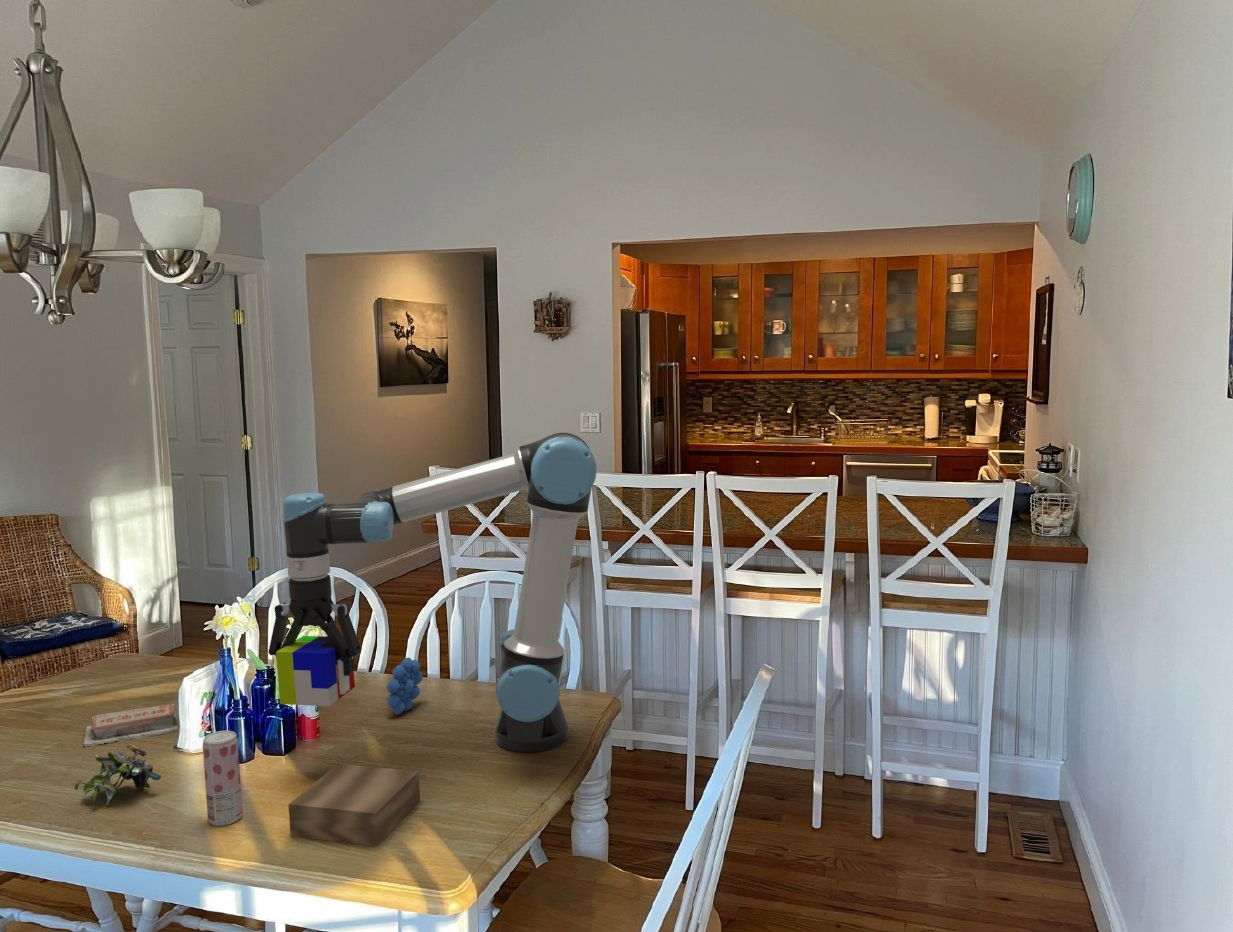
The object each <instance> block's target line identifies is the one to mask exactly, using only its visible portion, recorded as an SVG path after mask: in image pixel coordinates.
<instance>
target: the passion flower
mask: <svg viewBox="0 0 1233 932" xmlns="http://www.w3.org/2000/svg"><path fill="white" fill-rule="evenodd" d="M126 748H127V749H129V750H131V751H132V752H133V753H134V754H133V756H130V755H129V756H127V755H126V754H124V753H123V752H120V751H116V750H109V751H108V752H107V754H106V756H107V757H103V756H99V755H98V754H95V755H94V757H95V760H96V761H97V762H99V763H101V766H100V771H99V774H95V775H94V776H92V777H91V779H90V780H89V781H87V782H82V781H83V780H82V779H77V780H76V783H75V785H74V786H73V787H74V790H76V791H77V790H79V785H80V784H81V785H84V786H83V793H84V795H87V794H88V793H89V792H91V791H93V792H94V794H93V795H92V801H93V803H96V799H97V797H98V794H99V793H100V792H101V791H102V790H105V796H106V804H105V806H104V807H106V808H107V807H108V805H109V804H110V801H111V799H113V797H115V794H117V793H118V792H119V791H118V789H119V787H120V786H122V784H123V783H124V781H125V780H127V781H129V780H132V781H133V783H134V785H135V788H137V789H138V790H143V789H145V788H148V789H150V788H151V785H150V784H149V782H148V780H149V779H152V780H154V781H160V780H161V778H162V775H160V774H157V773H155V770H154V767H153V766H152V764H146V763H145V762H147V759H140V758H138V759H136V758H137V756H138V755H140V756H141V757H145V756H147V755H149V753H148V752H147V753H146V751H145V750H143V749H141V747H138V746H135V745H133V744H130V745H129V744H127V745H126ZM105 772H106V773H105ZM103 773H105V775H103ZM117 774H119V777H118V779H117V781H116V782H115V783H112V782H111V777H113V776H114V775H117ZM120 778H122V779H121V781H120V782H119V780H120ZM106 785H107V786H110V787H107V786H106Z"/></svg>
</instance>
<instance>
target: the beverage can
mask: <svg viewBox="0 0 1233 932" xmlns="http://www.w3.org/2000/svg"><path fill="white" fill-rule="evenodd" d="M202 756H203V768H204V771H203V772H204V781H205V784H204V786H205V796H206V797H205V798H206V811H207V822H208V823H209V824H210V825H213V826H215V827H222V826H223V827H224V826H228V825H232V824H234V823H237V822H238V821H239V820H241V818H242V817H243V815H244V807H243V794H242V793H243V792H242V781H241V767H240V754H239V742H238V737H237V734H236V732H235V731H231V730H219V731H215V732H214V731H213V732H210V733H208V734H207V735H205V736H204V737H203V739H202Z"/></svg>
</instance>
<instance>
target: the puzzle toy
mask: <svg viewBox="0 0 1233 932" xmlns="http://www.w3.org/2000/svg"><path fill="white" fill-rule="evenodd" d="M343 638H344V636H343ZM275 657H276V658H275V659H276V660H275V661H276V670H277V683H278V694H279V695H278V697H279V705H289V706H290V705H291V706H292V705H293V706H296V705H297V706H311V707H313V706H314V707H318V706H319V707H331V706H332V705H333V704H334V703H336V702H338V701H339V700H340V699H341V698H342V697H344V696H345V695H347V694H348V693H349V692H350V691H352V690H353V689H354V688H356V686H355V684H356V682H355V670H354V669H355V667H354V657H352V666H353V672H352V674H350V675H349V684H350V689H349V690H348V691H347V692H346V693H345V694H340V689H339V675H338V660H339V659H340V658H341V657H340V655H339V654H338V652H337V648H336V647H334V646H333V644H332V643H331V641H330V639H329V638H328V636H327V635H325V636H323V635H318V636H317V635H303V636H301V637H299V638H297V639H296V641H295V642H294V643H293V644H291V645H290V646H285V647H284V648H282V649H280V650H278V651H277V652H276V656H275Z"/></svg>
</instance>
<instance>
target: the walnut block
mask: <svg viewBox="0 0 1233 932" xmlns="http://www.w3.org/2000/svg"><path fill="white" fill-rule="evenodd" d="M419 772H420V771H417V770H408V769H399V768H398V769H397V768H387V767H377V766H366V765H358V764H357V765H356V764H348V763H347V764H344V763H337V764H336V765H335V766H334V767H332V768H331V769H330V770H329V771H327V772H326V773H325V774H324V775H322V776H321V777H320V778H319V779H317V781H315V782H314V783H313V784H311V785H310V786H309V787H308V788H306V789H305V790H304V791H303V792H302V793H300V794H299V795H298V796H297V797H296V798H294V799H293V800H291V801H290V802H288V815H289V816H288V817H289V832H290V837H294V838H295V837H296V838H301V839H303V838H304V839H310V840H311V839H312V840H319V841H320V840H322V841H329V842H337V843H338V842H339V843H346V844H347V843H348V844H356V845H357V844H358V845H364V846H373V847H374V846H375V847H378V846H379V845H380V844H381V843H382V842H383V841H384V840H385V839H386V838H387V837H388V835H390V833H392V831H394V829H395V828H396V827H397V826H398V825H399V824H400V823H401V822H402V821H403V820H404V819H405V818H406V817H407V815H408V814H410V812H411V811H412V810H413V809H414V808H415V807H416V806H417V805H418V804H419V803H420V802H421V795H420V794H421V793H420V773H419Z"/></svg>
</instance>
